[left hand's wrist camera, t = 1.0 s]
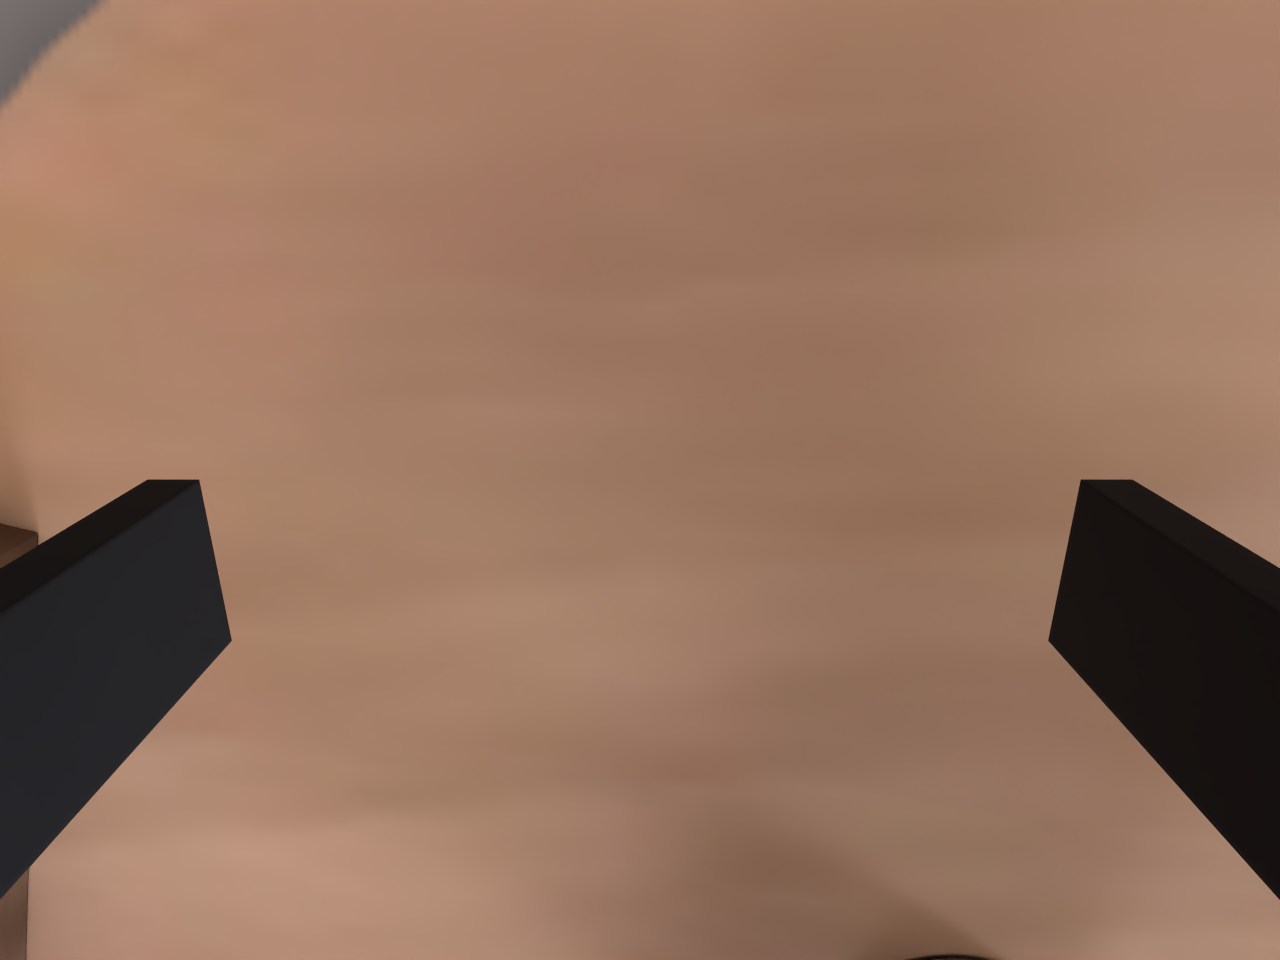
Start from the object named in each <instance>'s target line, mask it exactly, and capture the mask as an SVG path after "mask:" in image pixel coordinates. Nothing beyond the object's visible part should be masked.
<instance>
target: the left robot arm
mask: <svg viewBox="0 0 1280 960" xmlns="http://www.w3.org/2000/svg"><path fill="white" fill-rule="evenodd" d="M231 641H232V640H231V635H230V630H229V625H228V620H227V615H226V610H225V605H224V600H223V595H222V590H221V585H220V580H219V575H218V571H217V566H216V561H215V556H214V551H213V546H212V541H211V536H210V531H209V526H208V521H207V516H206V511H205V506H204V501H203V496H202V492H201V487H200V482H199V480H146V481H145V482H143V483H141V484H140V485H138V486H136V487H135V488H133V489H131V490H130V491H128V492H126V493H125V494H123V495H121V496H120V497H118V498H116V499H115V500H113V501H111V502H110V503H108V504H106V505H105V506H103V507H101V508H100V509H98V510H96V511H95V512H93V513H91V514H90V515H88V516H86V517H85V518H83V519H81V520H80V521H78V522H76V523H75V524H73V525H71V526H70V527H68V528H66V529H65V530H63V531H61V532H60V533H58V534H56V535H55V536H53V537H52V538H50V539H48V540H47V541H45V542H43V543H42V544H40V545H38V546H37V547H35V548H33V549H32V550H30V551H28V552H27V553H25V554H23V555H22V556H20V557H18V558H17V559H15V560H13V561H12V562H10V563H8V564H7V565H5V566H3V567H2V568H0V899H1V898H2V897H3V896H4V895H5V894H6V893H7V892H8V891H9V889H10V888H11V887H12V886H13V885H14V884H15V883H16V882H17V880H18V879H19V878H20V877H21V876H22V875H23V874H24V873H25V871H26V870H27V869H28V868H29V867H30V866H31V865H32V864H33V863H34V861H35V860H36V859H37V858H38V857H39V856H40V855H41V854H42V852H43V851H44V850H45V849H46V848H47V847H48V846H49V845H50V843H51V842H52V841H53V840H54V839H55V838H56V837H57V836H58V835H59V833H60V832H61V831H62V830H63V829H64V828H65V827H66V826H67V824H68V823H69V822H70V821H71V820H72V819H73V818H74V817H75V815H76V814H77V813H78V812H79V811H80V810H81V809H82V808H83V807H84V805H85V804H86V803H87V802H88V801H89V800H90V799H91V798H92V796H93V795H94V794H95V793H96V792H97V791H98V790H99V789H100V788H101V786H102V785H103V784H104V783H105V782H106V781H107V780H108V779H109V777H110V776H111V775H112V774H113V773H114V772H115V771H116V770H117V768H118V767H119V766H120V765H121V764H122V763H123V762H124V761H125V760H126V758H127V757H128V756H129V755H130V754H131V753H132V752H133V751H134V749H135V748H136V747H137V746H138V745H139V744H140V743H141V742H142V740H143V739H144V738H145V737H146V736H147V735H148V734H149V733H150V732H151V730H152V729H153V728H154V727H155V726H156V725H157V724H158V723H159V721H160V720H161V719H162V718H163V717H164V716H165V715H166V714H167V712H168V711H169V710H170V709H171V708H172V707H173V706H174V705H175V704H176V702H177V701H178V700H179V699H180V698H181V697H182V696H183V695H184V693H185V692H186V691H187V690H188V689H189V688H190V687H191V686H192V685H193V683H194V682H195V681H196V680H197V679H198V678H199V677H200V676H201V674H202V673H203V672H204V671H205V670H206V669H207V668H208V667H209V665H210V664H211V663H212V662H213V661H214V660H215V659H216V658H217V657H218V655H219V654H220V653H221V652H222V651H223V650H224V649H225V648H226V646H227V645H228V644H229V643H230V642H231ZM1048 641H1049V642H1050V643H1051V644H1052V645H1053V646H1054V648H1055V649H1056V650H1057V651H1058V652H1059V653H1060V654H1061V655H1062V657H1063V658H1064V659H1065V660H1066V661H1067V662H1068V663H1069V664H1070V665H1071V667H1072V668H1073V669H1074V670H1075V671H1076V672H1077V673H1078V674H1079V676H1080V677H1081V678H1082V679H1083V680H1084V681H1085V682H1086V683H1087V685H1088V686H1089V687H1090V688H1091V689H1092V690H1093V691H1094V692H1095V693H1096V695H1097V696H1098V697H1099V698H1100V699H1101V700H1102V701H1103V702H1104V704H1105V705H1106V706H1107V707H1108V708H1109V709H1110V710H1111V711H1112V712H1113V714H1114V715H1115V716H1116V717H1117V718H1118V719H1119V720H1120V721H1121V723H1122V724H1123V725H1124V726H1125V727H1126V728H1127V729H1128V730H1129V732H1130V733H1131V734H1132V735H1133V736H1134V737H1135V738H1136V739H1137V740H1138V742H1139V743H1140V744H1141V745H1142V746H1143V747H1144V748H1145V749H1146V751H1147V752H1148V753H1149V754H1150V755H1151V756H1152V757H1153V758H1154V760H1155V761H1156V762H1157V763H1158V764H1159V765H1160V766H1161V767H1162V768H1163V770H1164V771H1165V772H1166V773H1167V774H1168V775H1169V776H1170V777H1171V779H1172V780H1173V781H1174V782H1175V783H1176V784H1177V785H1178V786H1179V788H1180V789H1181V790H1182V791H1183V792H1184V793H1185V794H1186V795H1187V796H1188V798H1189V799H1190V800H1191V801H1192V802H1193V803H1194V804H1195V805H1196V807H1197V808H1198V809H1199V810H1200V811H1201V812H1202V813H1203V814H1204V815H1205V817H1206V818H1207V819H1208V820H1209V821H1210V822H1211V823H1212V824H1213V826H1214V827H1215V828H1216V829H1217V830H1218V831H1219V832H1220V833H1221V835H1222V836H1223V837H1224V838H1225V839H1226V840H1227V841H1228V842H1229V843H1230V845H1231V846H1232V847H1233V848H1234V849H1235V850H1236V851H1237V852H1238V854H1239V855H1240V856H1241V857H1242V858H1243V859H1244V860H1245V861H1246V863H1247V864H1248V865H1249V866H1250V867H1251V868H1252V869H1253V870H1254V871H1255V873H1256V874H1257V875H1258V876H1259V877H1260V878H1261V879H1262V880H1263V882H1264V883H1265V884H1266V885H1267V886H1268V887H1269V888H1270V889H1271V891H1272V892H1273V893H1274V894H1275V895H1276V896H1277V897H1278V898H1279V899H1280V568H1278V567H1277V566H1275V565H1273V564H1272V563H1270V562H1268V561H1267V560H1265V559H1263V558H1262V557H1260V556H1258V555H1257V554H1255V553H1253V552H1252V551H1250V550H1248V549H1247V548H1245V547H1243V546H1242V545H1240V544H1238V543H1237V542H1235V541H1233V540H1232V539H1230V538H1228V537H1227V536H1225V535H1224V534H1222V533H1220V532H1219V531H1217V530H1215V529H1214V528H1212V527H1210V526H1209V525H1207V524H1205V523H1204V522H1202V521H1200V520H1199V519H1197V518H1195V517H1194V516H1192V515H1190V514H1189V513H1187V512H1185V511H1184V510H1182V509H1180V508H1179V507H1177V506H1175V505H1174V504H1172V503H1170V502H1169V501H1167V500H1165V499H1164V498H1162V497H1160V496H1159V495H1157V494H1155V493H1154V492H1152V491H1150V490H1149V489H1147V488H1145V487H1144V486H1142V485H1140V484H1139V483H1137V482H1135V481H1134V480H1081V482H1080V487H1079V492H1078V496H1077V501H1076V506H1075V511H1074V516H1073V521H1072V526H1071V531H1070V536H1069V541H1068V546H1067V551H1066V556H1065V561H1064V566H1063V571H1062V575H1061V580H1060V585H1059V590H1058V595H1057V600H1056V605H1055V610H1054V615H1053V620H1052V625H1051V630H1050V635H1049V640H1048ZM932 960H973V959H962V958H944V959H932Z"/></svg>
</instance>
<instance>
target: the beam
mask: <svg viewBox="0 0 1280 960" xmlns="http://www.w3.org/2000/svg"><path fill="white" fill-rule="evenodd" d="M37 536H38V535H37V533H34V532H29V531H25V530H21V529H17V528H13V527H9V526H5V525H1V524H0V568H2V567H3V566H5V565H7V564H8V563H10V562H12V561H13V560H15V559H17V558H18V557H20V556H22V555H23V554H25V553H27V552H28V551H30V550H32V549H33V548H35V547H37ZM27 892H28V869H27V870H26V871H25V873H24V874H23V875H22V876H21V877H20V878H19V879H18V880H17V882H16V883H15V884H14V885H13V886H12V887H11V888H10V889H9V891H8V892H7V893H6V894H5V895H4V896H3V897H2V898H1V899H0V960H26V927H27Z"/></svg>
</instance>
